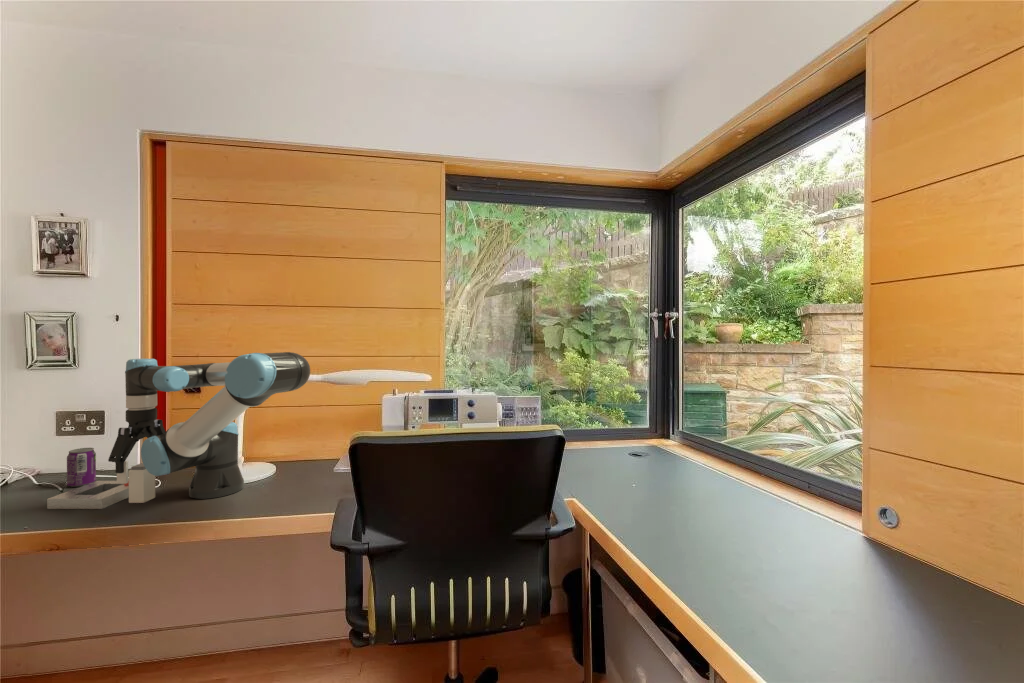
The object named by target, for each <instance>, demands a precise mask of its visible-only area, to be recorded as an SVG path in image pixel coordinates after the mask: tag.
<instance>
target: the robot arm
mask: <svg viewBox="0 0 1024 683" xmlns="http://www.w3.org/2000/svg"><path fill="white" fill-rule="evenodd" d="M125 363H126V364H125V371H124V374H125V375H124V376H125V408H126V410H125V422H127V423H128V427H119V428H118V432H117V437H116V439H115V442H114V445H113V447H112V449H111V452H110V455H109V457H108V459H107V461H108V462H110V463H115V464H114V465H115V473H116V481H117V484H126V483H128V481H129V461H128V460H127V458H128V457H129V455H130V454H131V451H132V450H133V448H134V447H135V446H136V444H137V442H139V441H140V440H142V439H144V438H146V439H144V440H143V442H142V445H141V447H140V457H141V461H142V462H141V463H143V464H144V466H145V468H146V470H147V471H148V472H149V473H150V474H152V475H154V476H155V477H160V476H166V475H170V474H173V473H176V472H179V471H182V470H186V469H189V468H192V467H195V471H194V474H193V476H192V480H191V482H190V485H189V489H188V497H189V498H191V499H199V500H200V499H202V500H204V499H205V500H206V499H215V498H221V497H225V496H229V495H232V494H235V493H238V492H240V491H241V490H243V489H244V487H245V480H244V477H243V474H242V472H241V470H240V467H239V459H238V458H239V432H238V424H237V423H236V422H234V421H235V420H236V419H237V418H238V417H240V415H242V413H244V412H245V411H247V410H248V409H249V408H250V407H251V408H253V407H258V406H261V405H262V404H263V403H264V402H266V401H267V400H268V399H269V398H270V397H271V396H273V395H276V394H279V393H281V394H282V393H287V392H293V391H296V390H298V389H301V388H302V387H303V386H304V385H306V383H307V382H308V380H309V379H310V375H311V366H310V363H309V361H308V360H307V359H306V358H305V357H304V356H303V355H301V354H299V353H297V352H290V351H287V352H286V351H284V352H265V353H263V352H252V353H247V354H241V355H239V356H237V357H235V358H234V359H233V360H231V361H230V362H216V363H215V362H210V363H200V364H182V365H181V364H180V365H158V360H157V359H155V358H130V359H128V360H127V361H126V362H125ZM217 386H218V387H220V386H222V388H221V389H220V390H219V391H218V392H217V393H216V394H214V396H212V397H211V398H210V399H209V400H208V401H207V402H206V403H204V405H202V406H201V407H200V408H199V409H198V410H196V412H195V413H193V414H192V415H191V416H190V417H189V418H188V419H187V420H185V421H183V422H182V421H181V422H177V423H175V424H173V425H171V427H169V428H168V429H166V430H165V427H164V422H163V419H158V408H157V406H158V391H159V392H166V393H169V392H180V391H182V390H185V389H187V390H188V389H193V388H204V387H217ZM223 386H224V387H223Z"/></svg>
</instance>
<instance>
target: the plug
mask: <svg viewBox="0 0 1024 683" xmlns="http://www.w3.org/2000/svg"><path fill="white" fill-rule="evenodd" d="M130 467H131V468H130V469H128V481H129V497H128V504H133V503H134V504H135V503H136V504H139V503H140V504H141V503H143V504H144V503H146V502H149V501H150V500H151V501H152V500H153V499H155V498H156V476H154V475H152V474H150V473H149V472H148V471H147V470H146V468H145V466H144V464H143V462H141V463H138V464H135V465H133V466H130Z"/></svg>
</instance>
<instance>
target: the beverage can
mask: <svg viewBox="0 0 1024 683" xmlns="http://www.w3.org/2000/svg"><path fill="white" fill-rule="evenodd" d="M96 453H97V452H96V451H95V448H94V447H81V448H76V449H70V450H69V451H68V455H67V456H66V486H68V487H71V488H79V487H81V486H84V485H87V484H90V483H93V482H95V481H97V454H96Z"/></svg>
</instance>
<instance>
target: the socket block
mask: <svg viewBox="0 0 1024 683" xmlns="http://www.w3.org/2000/svg"><path fill="white" fill-rule="evenodd" d="M126 499H129V480H128V483H126V484H117V480H96V481H94V482H93V483H90V484H87V485H84V486H81V487H75V488H73V489H71V490H68V491H65V492H62V493H60V494H56V495H54V496H51V497H49V498H46V509H47V510H64V509H65V510H69V509H71V510H72V509H74V510H80V509H82V510H85V509H86V510H88V509H89V510H96V509H98V510H103V509H105V508H107V507H111V506H112V505H115V504H116V503H119V502H122V501H124V500H126Z"/></svg>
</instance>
